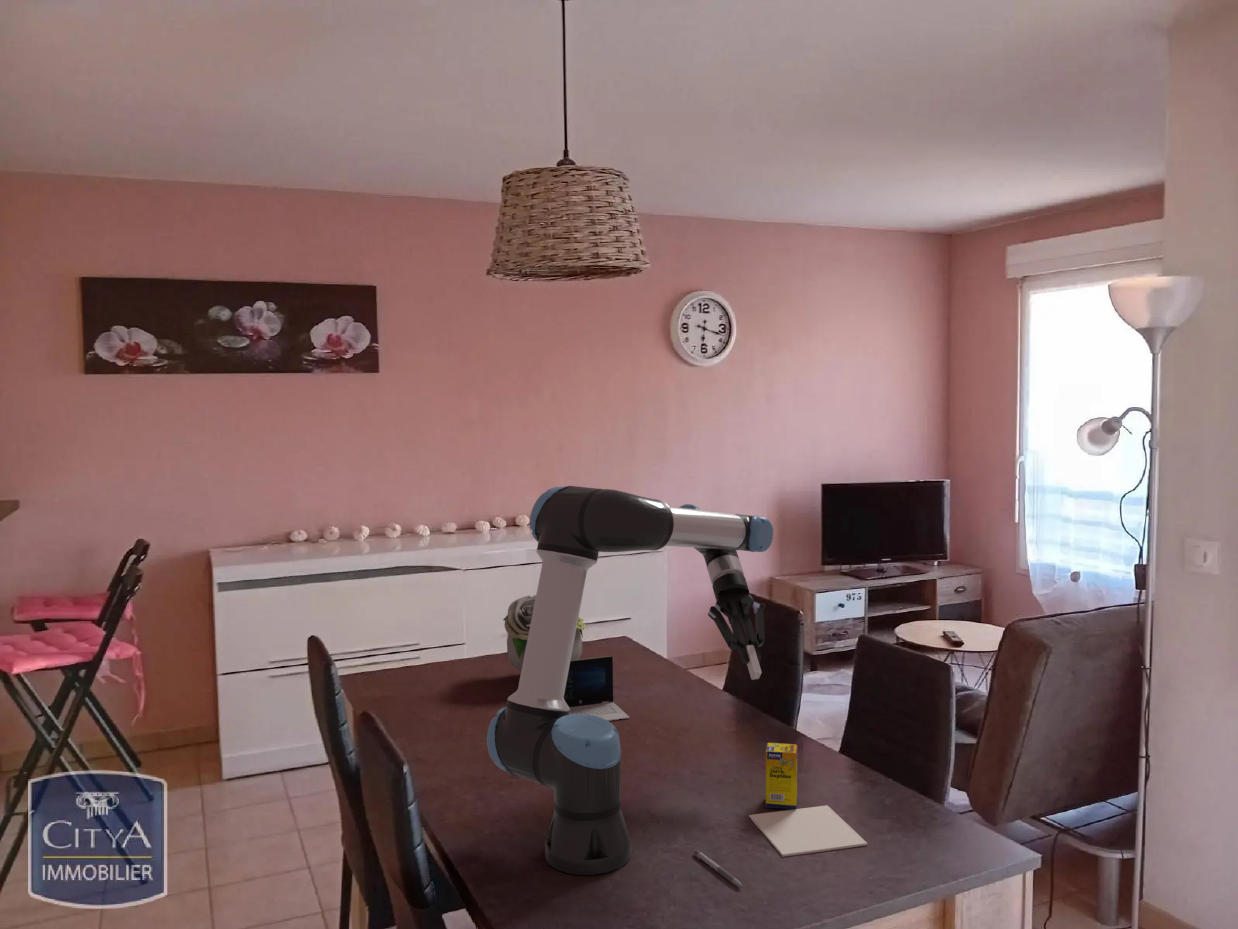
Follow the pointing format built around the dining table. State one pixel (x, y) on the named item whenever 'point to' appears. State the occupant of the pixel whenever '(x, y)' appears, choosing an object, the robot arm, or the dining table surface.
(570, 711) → the laptop
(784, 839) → the mat
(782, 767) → the supplement box
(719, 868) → the pen
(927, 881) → the dining table surface
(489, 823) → the dining table surface
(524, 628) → the flower arrangement
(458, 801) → the dining table surface
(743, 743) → the dining table surface
